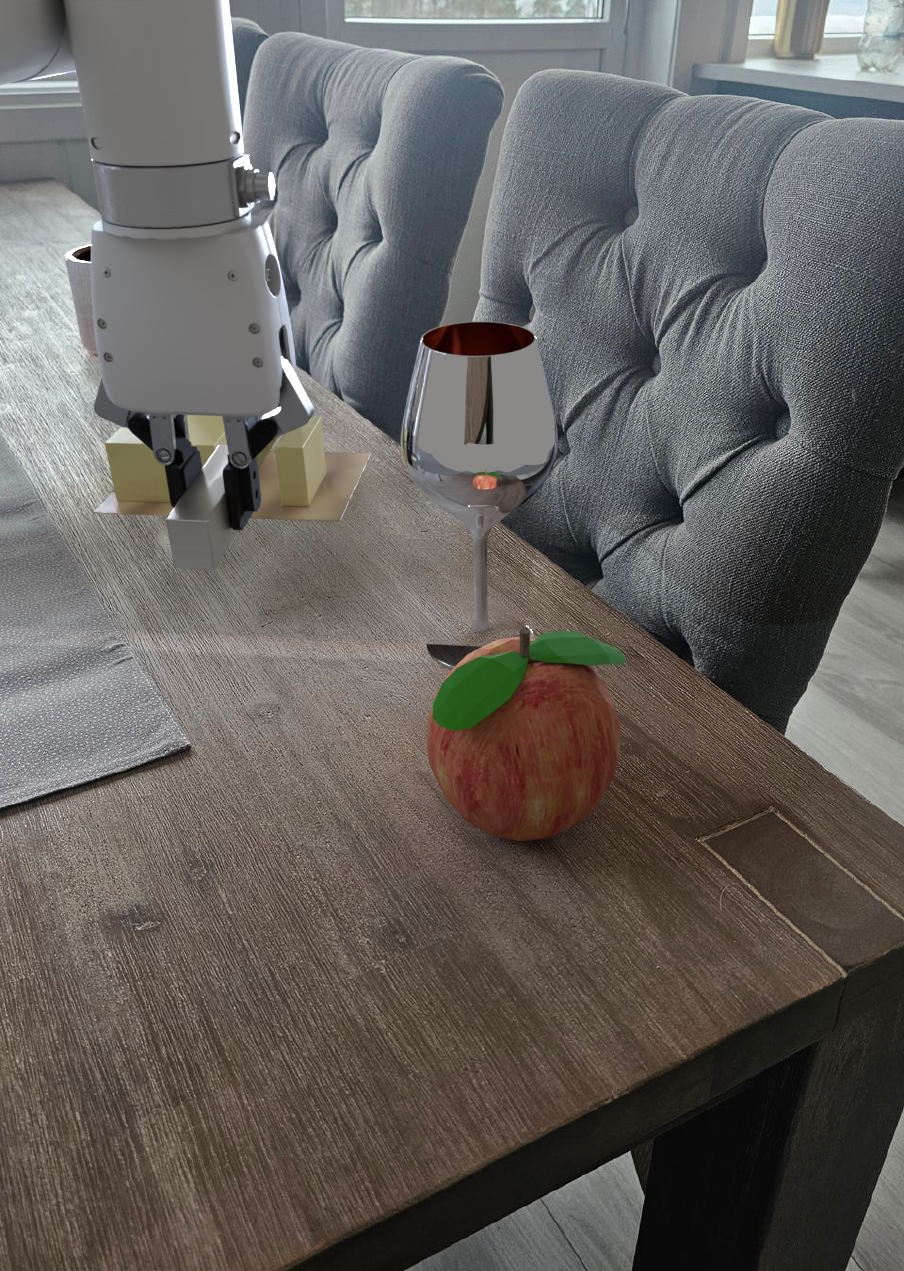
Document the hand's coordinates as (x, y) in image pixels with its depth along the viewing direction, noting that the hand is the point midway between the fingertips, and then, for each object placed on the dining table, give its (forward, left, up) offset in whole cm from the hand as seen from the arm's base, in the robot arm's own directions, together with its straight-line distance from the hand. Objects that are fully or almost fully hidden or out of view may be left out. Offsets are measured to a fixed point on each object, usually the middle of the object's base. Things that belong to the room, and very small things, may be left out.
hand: (218, 516), depth 64 cm
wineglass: (+16, -4, -6) cm, 18 cm away
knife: (0, +5, -1) cm, 5 cm away
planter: (-26, +51, -6) cm, 58 cm away
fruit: (+20, -18, -6) cm, 27 cm away
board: (-4, +15, -6) cm, 16 cm away
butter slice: (+2, +14, -5) cm, 15 cm away
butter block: (-8, +14, -5) cm, 17 cm away
